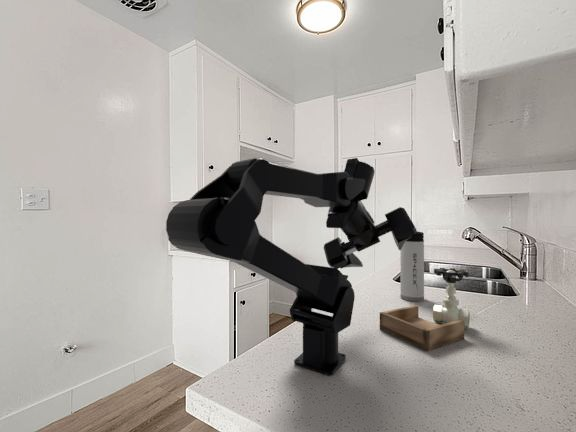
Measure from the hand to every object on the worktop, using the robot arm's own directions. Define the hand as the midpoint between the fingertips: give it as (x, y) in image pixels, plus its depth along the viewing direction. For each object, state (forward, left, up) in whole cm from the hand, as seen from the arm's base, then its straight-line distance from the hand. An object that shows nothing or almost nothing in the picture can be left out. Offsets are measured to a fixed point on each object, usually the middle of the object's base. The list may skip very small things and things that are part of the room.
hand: (380, 256), depth 65 cm
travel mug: (+23, -3, -15) cm, 27 cm away
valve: (+5, -14, -15) cm, 21 cm away
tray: (-3, -9, -14) cm, 17 cm away
